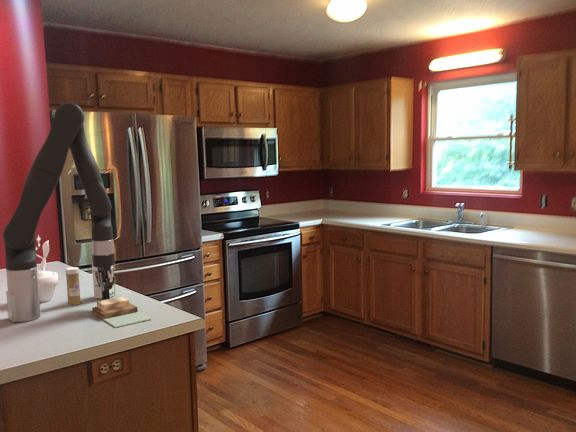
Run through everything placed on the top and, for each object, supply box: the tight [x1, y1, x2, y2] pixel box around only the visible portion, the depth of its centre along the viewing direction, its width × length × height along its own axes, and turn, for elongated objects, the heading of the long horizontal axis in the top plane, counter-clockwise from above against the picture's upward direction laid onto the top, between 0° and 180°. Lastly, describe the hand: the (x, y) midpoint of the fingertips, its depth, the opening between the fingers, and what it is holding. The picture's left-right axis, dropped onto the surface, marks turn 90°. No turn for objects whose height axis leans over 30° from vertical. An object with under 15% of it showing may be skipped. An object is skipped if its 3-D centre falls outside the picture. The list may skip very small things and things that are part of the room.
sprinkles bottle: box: [65, 266, 82, 306], centre depth 193 cm, size 5×5×14 cm
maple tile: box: [96, 296, 130, 311], centre depth 183 cm, size 9×6×2 cm, turn 130°
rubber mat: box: [103, 311, 152, 329], centre depth 174 cm, size 12×10×1 cm
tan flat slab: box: [91, 302, 139, 321], centre depth 182 cm, size 12×10×2 cm
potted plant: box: [35, 234, 59, 303], centre depth 197 cm, size 13×12×25 cm
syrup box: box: [91, 261, 116, 300], centre depth 202 cm, size 6×6×14 cm
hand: (106, 300), depth 188 cm, fingers closed
